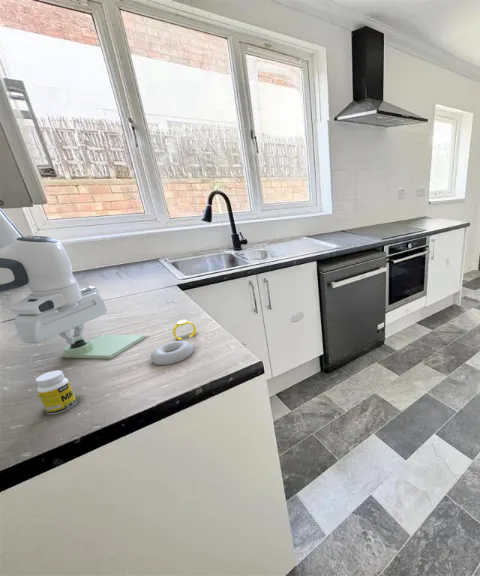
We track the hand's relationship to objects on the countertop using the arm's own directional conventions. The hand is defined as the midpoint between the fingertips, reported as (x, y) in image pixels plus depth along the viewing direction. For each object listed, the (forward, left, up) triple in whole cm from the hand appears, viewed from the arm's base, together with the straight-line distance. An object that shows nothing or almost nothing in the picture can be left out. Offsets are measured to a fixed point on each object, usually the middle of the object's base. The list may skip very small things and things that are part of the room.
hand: (75, 341), depth 88 cm
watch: (+25, +11, -4) cm, 27 cm away
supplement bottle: (+19, -21, -4) cm, 29 cm away
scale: (+5, +4, -4) cm, 7 cm away
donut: (+29, 0, -4) cm, 29 cm away
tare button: (0, 0, -2) cm, 2 cm away
